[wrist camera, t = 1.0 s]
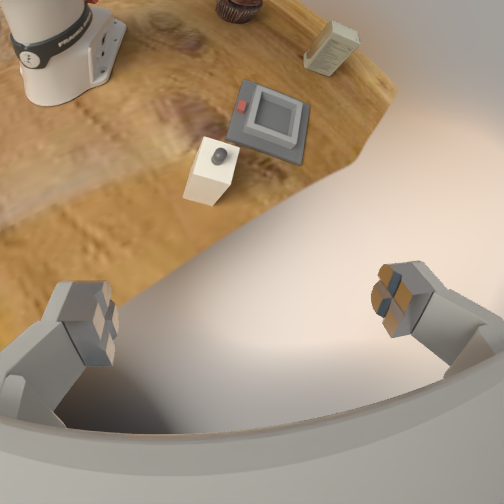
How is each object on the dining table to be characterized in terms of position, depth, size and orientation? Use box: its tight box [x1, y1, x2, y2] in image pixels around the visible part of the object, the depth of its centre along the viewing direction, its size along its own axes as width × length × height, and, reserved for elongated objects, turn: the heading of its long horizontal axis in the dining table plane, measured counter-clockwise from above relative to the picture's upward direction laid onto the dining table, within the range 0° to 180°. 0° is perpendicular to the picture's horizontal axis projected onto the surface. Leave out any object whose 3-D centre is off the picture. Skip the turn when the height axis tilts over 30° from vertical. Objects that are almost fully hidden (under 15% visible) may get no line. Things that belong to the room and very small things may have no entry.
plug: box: [183, 137, 240, 206], centre depth 38 cm, size 5×4×12 cm
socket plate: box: [225, 79, 310, 166], centre depth 47 cm, size 13×13×3 cm
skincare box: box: [304, 20, 361, 77], centre depth 48 cm, size 6×4×12 cm
